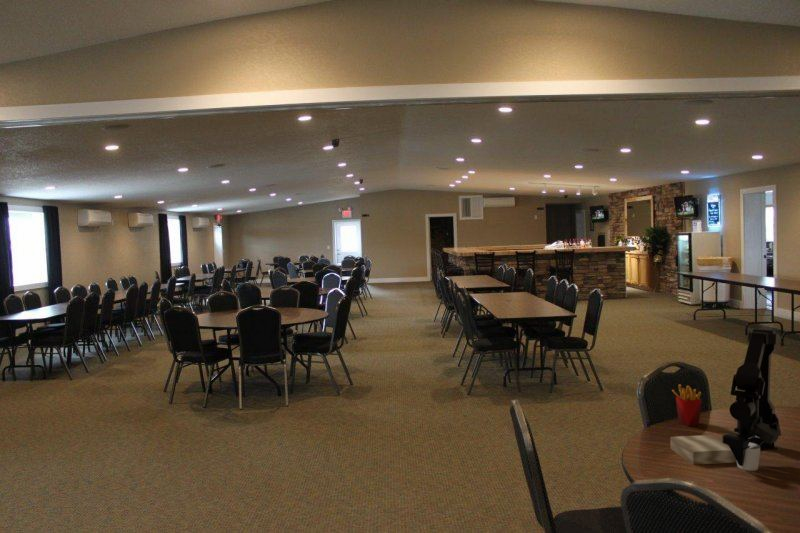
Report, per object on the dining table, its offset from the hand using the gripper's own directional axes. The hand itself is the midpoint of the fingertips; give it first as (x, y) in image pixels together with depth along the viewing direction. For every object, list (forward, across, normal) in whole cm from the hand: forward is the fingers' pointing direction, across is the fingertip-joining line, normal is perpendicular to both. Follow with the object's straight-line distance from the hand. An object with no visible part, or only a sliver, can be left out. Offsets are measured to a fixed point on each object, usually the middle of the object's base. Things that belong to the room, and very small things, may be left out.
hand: (747, 462), depth 187 cm
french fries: (+2, +24, +34) cm, 41 cm away
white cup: (+2, 0, 0) cm, 2 cm away
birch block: (+2, -2, +14) cm, 14 cm away
